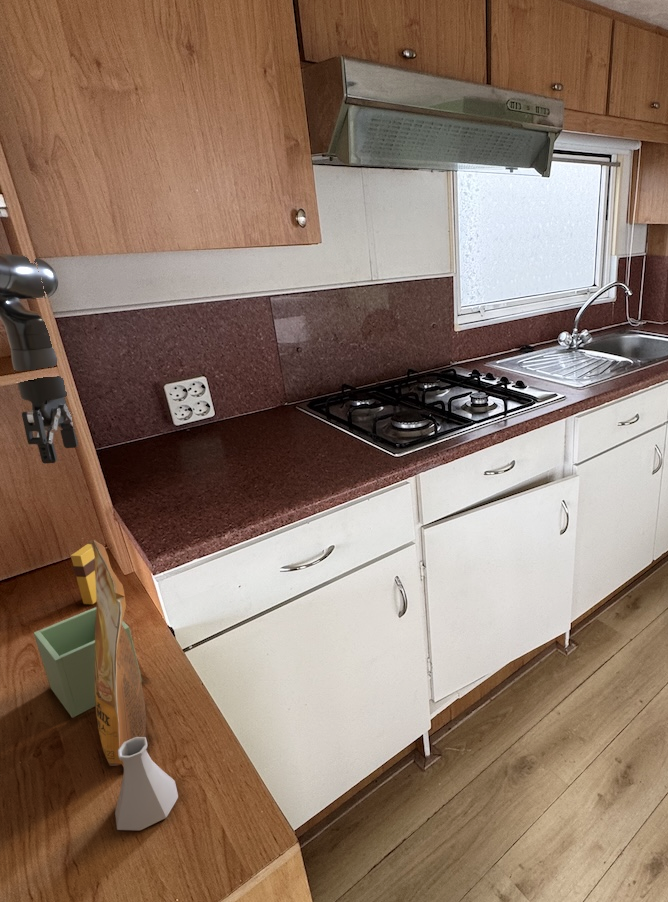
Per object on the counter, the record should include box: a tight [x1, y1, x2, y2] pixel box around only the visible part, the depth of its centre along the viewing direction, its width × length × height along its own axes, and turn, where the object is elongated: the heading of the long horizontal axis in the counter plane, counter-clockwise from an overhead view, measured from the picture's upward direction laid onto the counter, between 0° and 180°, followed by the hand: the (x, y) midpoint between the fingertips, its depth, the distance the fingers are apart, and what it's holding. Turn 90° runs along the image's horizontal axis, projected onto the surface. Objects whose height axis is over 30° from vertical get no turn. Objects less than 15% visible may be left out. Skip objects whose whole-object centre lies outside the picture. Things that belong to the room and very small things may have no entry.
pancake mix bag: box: [89, 539, 147, 769], centre depth 82 cm, size 7×19×28 cm, turn 34°
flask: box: [114, 736, 179, 831], centre depth 73 cm, size 7×7×10 cm
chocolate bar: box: [70, 543, 96, 605], centre depth 115 cm, size 2×5×11 cm, turn 177°
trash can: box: [33, 606, 143, 719], centre depth 93 cm, size 10×10×11 cm
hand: (61, 454), depth 111 cm, fingers open, 8 cm apart
